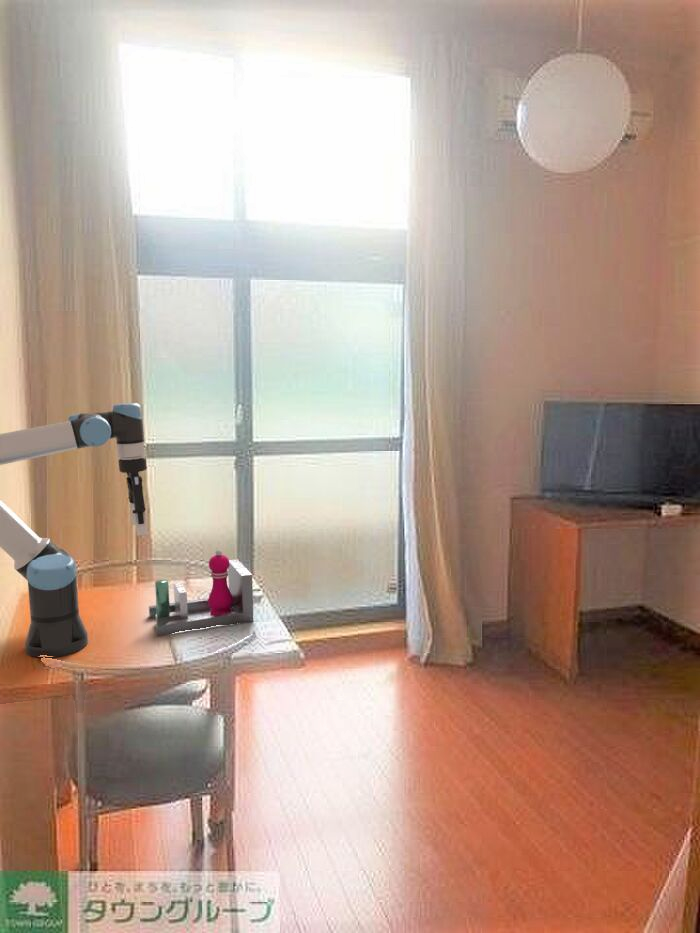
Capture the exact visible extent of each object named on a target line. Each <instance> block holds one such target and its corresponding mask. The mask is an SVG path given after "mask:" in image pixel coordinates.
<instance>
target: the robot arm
mask: <svg viewBox="0 0 700 933" xmlns="http://www.w3.org/2000/svg"><path fill="white" fill-rule="evenodd" d="M144 435H145V434H144V425H143V416H142V409H141V405H140V404H139V403H136V402H123V403H115V404H114V405H112V410H111V411H107V412H105V411H104V412H88V413H82V412H81V413H78V414H71V415H69V416H68V420H67V421H62V422H55V423H52V424H47V425H46V424H45V425H41V426H35V427H30V428H25V429H20V430H15V431H9V432H3V433H0V466H4V465H8V464H12V463H16V462H21V461H27V460H30V459H36V458H40V457H44V456H50V455H55V454H59V453H63V452H68V451H73V450H77V449H84V448H89V447H101V446H103V445H105V444H107V442H108V441H109V440H110V439H115V440H116V451H117V457H118V458H119V459H118V467H119V468H118V469H119V472H121V473H123V474H126V475H127V476H126V484H127V488H128V490H127V491H128V500H129V501H128V502H129V508H130V521H131V526H135V530H136V531H135V532H136V536H137V537H138V536H144V535H148V530H147V520H146V510H147V509H146V507H145V506H146V505H145V498H144V490H143V489H144V487H143V477H142V476H140V472H144V471H146V470H147V468H148V466H147V458H146V457H145V455H146V449H147V447H148V445H147V444H145V438H144V437H145V436H144ZM0 548H1V549H2V550H3V551H4V552H5V553H6V554H8V556H9V557H10V558H11V559H12V560H13V561H14V566H13V567H14V570H15V571H16V572H17V573H19V574H20V575H21V576H22V577H23V578H24V579H25V580H26V581H27V587H28V588H27V589H28V591H27V592H28V601H29V602H28V603H29V613H30V625H29V628H28V630H27V635H26V638H25V645H24V646H25V647H24V648H25V653H26V654H27V655H28V656H30V657H32V658H33V657H34V658H39V657H38V656H40V655H47V656H58V657H63V656H67V655H70V654H73V653H76V652H78V651H80V650H82V649H83V648H85V647H86V646H87V645H88V643H89V635H88V631H87V629H86V627H85V625H84V623H83V620H82V618H81V616H80V608H79V596H78V595H79V594H78V592H79V591H78V582H77V580H78V578H77V574H78V570H77V566H76V562H75V560H74V559H73V558H72V556H71V555H70V554H69V552H67V550H64V549H62V548H61V547H59V546H57V545H56V543H55V542H53V541H52V540H51V539H50V538H49V537H40V536H39V535H37V533H36V532H35V531H34V530H33V529H32V528H30V527H29V526H28V525H27V524H26V523H25V522H24V521H23V520H22V519H21V518H20V517H19V516H18V515H17V514H16V513H15V512H14V511H13V510H12V509H11V508H10V507H8V506H7V505H6V504H5V503H4V501H2V500H1V499H0Z"/></svg>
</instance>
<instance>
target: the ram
mask: <svg viewBox="0 0 700 933" xmlns="http://www.w3.org/2000/svg"><path fill="white" fill-rule="evenodd" d="M154 583H155V584H154V587H155V605H156V609H157V615H156V618H155V625H156V624H158V623H164V622H171V621H177V620H184V619H189V615H188V614H189V613H188V610H187V601H188V594H187V593H188V591H187V590H186V588H185V587H184V585H183V583H182V582H181V581H178V582H173V595H174V597H173V598H174V603H175V612H170V605H169V603H170V590H169V588H170V586H169V580H168V579H157V580H155V582H154Z"/></svg>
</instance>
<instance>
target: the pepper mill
mask: <svg viewBox="0 0 700 933" xmlns="http://www.w3.org/2000/svg"><path fill="white" fill-rule="evenodd" d="M222 553H223V551H222V550H221V549H217V550H216V551H215V555H213V556H211V557H210V559H209V560H208V569H210V570H211V571H210V577H211V578H212V588H211V591H210V593H209V596H208V598H209V599H208V605H209V606H210V608H211V609H210V611H209V612H210V613H209V614H210V615H217V614H223V613H230V612H233V608H232V607H231V605H232V604H233V597H232V594H231V592H230V590H229V584H228V580H227V578H228V568H229V565H230V562H229V560H230V559H229V558H228V557H227V556H226V555H224V554H222ZM210 615H209V616H210Z"/></svg>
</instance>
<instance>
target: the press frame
mask: <svg viewBox="0 0 700 933" xmlns="http://www.w3.org/2000/svg"><path fill="white" fill-rule="evenodd" d="M229 562H230V565H229V568H228V569H227V571H228V576H227V578H228V588H229V590H230V592H231V594H232V597H233V604H232V605H231V607H230V608H231V609H232V612H230V613H223V614H217V615H203V616H197V617H192V618H188V619H184V620H177V621H171V622H164V623H158V624H156V623H155V635H156V636H157V637H165V636H170V634H172V633H175V632H179V631H185V630H192V629H200V628H206V627H211V626H216V625H228V626H231V625H230V624H234V625H240V624H239V623H241V624H245V623H246V624H247V623H253V622H254V596H253V594H254V593H253V574H252V573H251V572H250V571H249V570H248V569H247V568H246V567H245V565H244V564H243V563H242V562H241V561H240V560H239V559H229ZM208 599H209V597H206V598H198V599H191V600H187V610H188V614H189V613H194V612H201V611H202V610H203V611H208V610H211V608H210V606H209V605H208ZM169 605H170V612H175V602H169ZM203 611H202V612H203ZM148 615H149V618H150V619H154V618H155V619H156V615H157V609H156V604H155V605H149V606H148ZM237 623H238V624H237ZM172 635H173V634H172Z"/></svg>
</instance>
